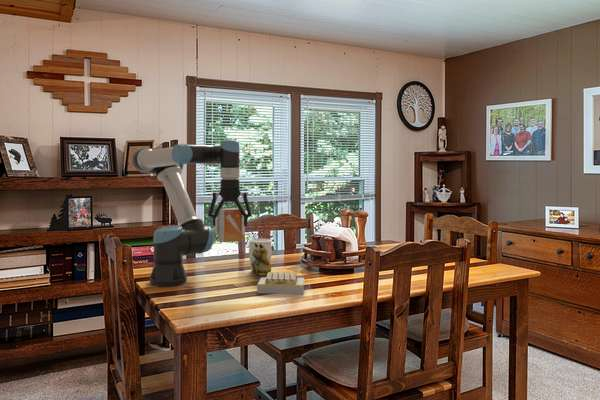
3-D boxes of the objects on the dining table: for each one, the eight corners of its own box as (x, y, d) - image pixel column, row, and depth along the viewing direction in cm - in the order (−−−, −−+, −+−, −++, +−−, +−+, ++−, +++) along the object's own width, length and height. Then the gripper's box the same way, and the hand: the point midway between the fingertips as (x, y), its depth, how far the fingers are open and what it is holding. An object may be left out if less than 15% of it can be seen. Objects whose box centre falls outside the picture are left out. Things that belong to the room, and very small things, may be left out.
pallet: (265, 285, 195) (265, 278, 195) (267, 277, 207) (268, 272, 207) (295, 285, 195) (295, 279, 195) (296, 278, 207) (296, 272, 207)
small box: (224, 242, 196) (224, 209, 195) (217, 240, 202) (217, 208, 201) (242, 241, 201) (242, 208, 200) (235, 239, 206) (235, 207, 205)
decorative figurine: (248, 275, 223) (248, 242, 222) (263, 273, 229) (263, 241, 228) (260, 280, 216) (261, 245, 215) (276, 277, 221) (276, 243, 220)
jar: (245, 273, 229) (245, 240, 228) (252, 268, 239) (253, 237, 238) (267, 274, 226) (267, 242, 225) (274, 269, 236) (274, 238, 235)
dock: (257, 293, 194) (257, 284, 194) (260, 284, 208) (261, 275, 208) (303, 294, 194) (303, 285, 194) (304, 285, 208) (304, 276, 208)
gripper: (199, 178, 196) (200, 235, 198) (256, 179, 195) (256, 235, 197) (204, 178, 203) (204, 232, 205) (259, 178, 203) (259, 233, 204)
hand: (230, 234), depth 201 cm, fingers closed on small box, 10 cm apart
